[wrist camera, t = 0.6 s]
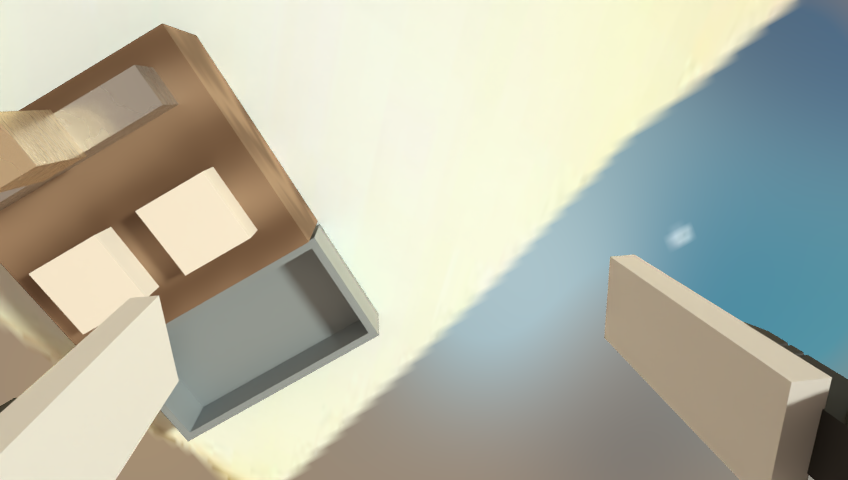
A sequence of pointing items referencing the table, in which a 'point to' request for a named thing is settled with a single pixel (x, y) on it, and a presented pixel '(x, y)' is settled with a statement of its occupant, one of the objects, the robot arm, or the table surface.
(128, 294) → the tile
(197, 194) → the tile
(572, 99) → the table surface
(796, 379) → the robot arm
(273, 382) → the box
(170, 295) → the wood grain panel
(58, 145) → the gray bar with knob
